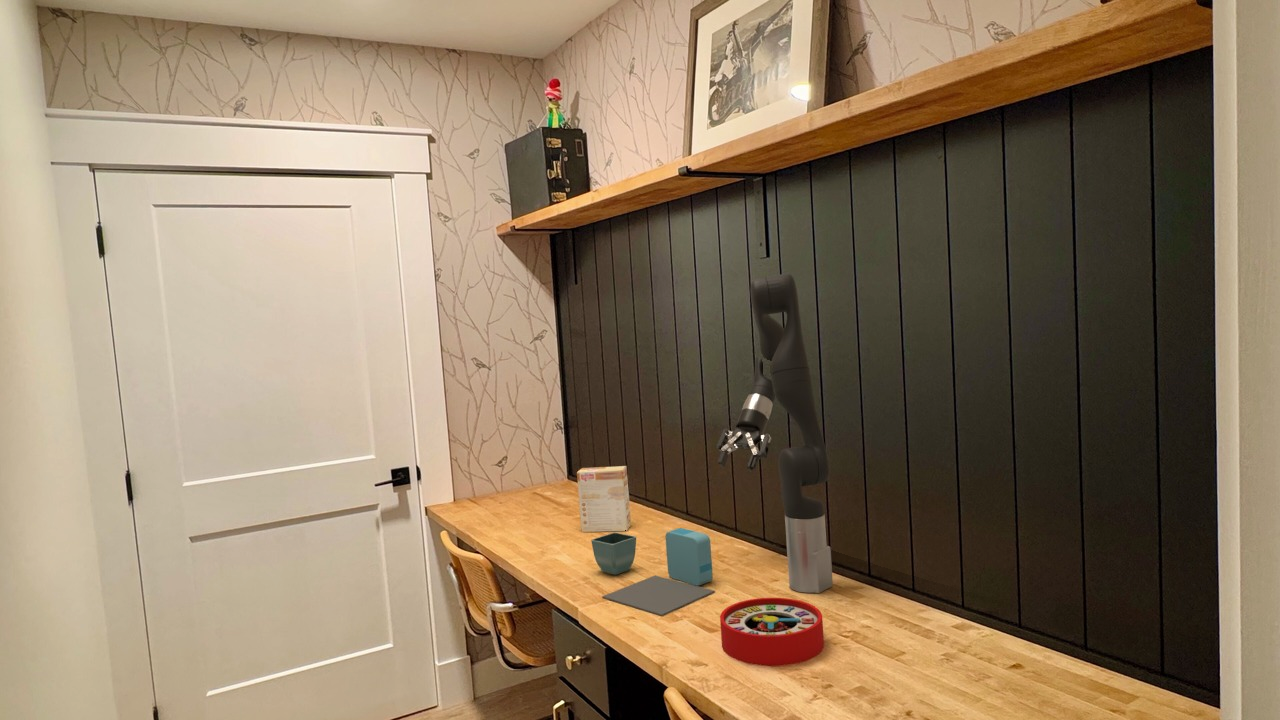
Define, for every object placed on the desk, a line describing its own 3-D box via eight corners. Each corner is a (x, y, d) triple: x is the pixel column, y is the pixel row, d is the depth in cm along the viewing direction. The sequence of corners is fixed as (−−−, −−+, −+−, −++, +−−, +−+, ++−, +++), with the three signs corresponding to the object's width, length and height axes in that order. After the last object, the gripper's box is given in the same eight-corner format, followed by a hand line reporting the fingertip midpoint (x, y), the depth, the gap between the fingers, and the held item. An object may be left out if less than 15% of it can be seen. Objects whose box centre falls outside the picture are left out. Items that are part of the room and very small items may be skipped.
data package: (713, 582, 194) (710, 534, 193) (700, 587, 191) (696, 538, 191) (681, 572, 203) (677, 526, 203) (667, 577, 200) (664, 530, 200)
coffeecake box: (631, 525, 253) (627, 465, 252) (627, 531, 246) (622, 469, 245) (586, 526, 256) (581, 467, 255) (581, 532, 249) (576, 471, 248)
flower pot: (617, 564, 214) (614, 531, 214) (639, 569, 208) (637, 536, 208) (592, 573, 208) (590, 539, 208) (615, 579, 202) (612, 544, 201)
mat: (714, 592, 187) (714, 590, 187) (662, 616, 174) (662, 614, 174) (655, 576, 201) (654, 575, 201) (602, 598, 189) (602, 596, 189)
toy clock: (722, 598, 167) (819, 596, 164) (724, 625, 168) (820, 624, 164) (716, 636, 148) (825, 636, 144) (718, 667, 148) (827, 667, 145)
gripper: (726, 405, 214) (705, 457, 207) (773, 409, 205) (753, 464, 198) (737, 419, 219) (717, 471, 212) (783, 424, 210) (764, 478, 203)
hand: (735, 467), depth 205 cm, fingers open, 8 cm apart
